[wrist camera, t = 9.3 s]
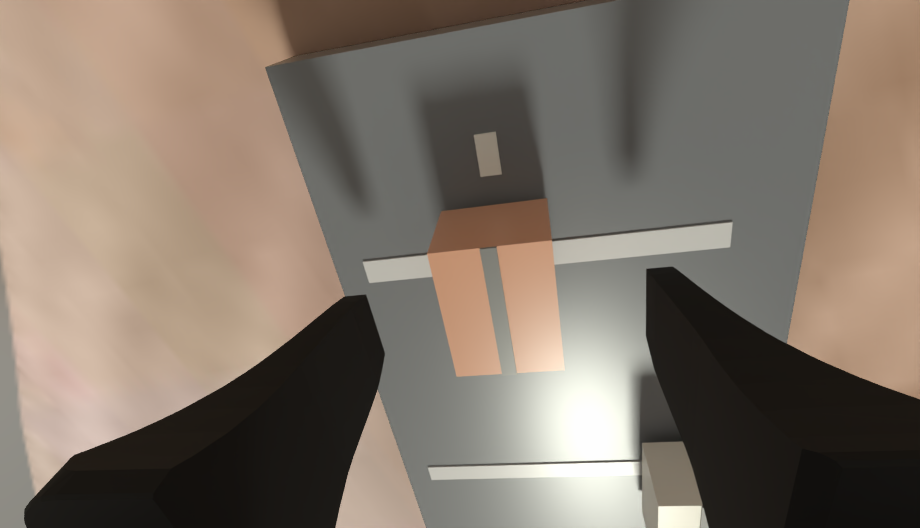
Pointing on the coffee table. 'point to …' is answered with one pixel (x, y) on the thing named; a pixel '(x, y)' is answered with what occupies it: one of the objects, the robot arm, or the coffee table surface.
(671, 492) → the block
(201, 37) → the coffee table surface
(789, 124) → the console
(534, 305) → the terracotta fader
